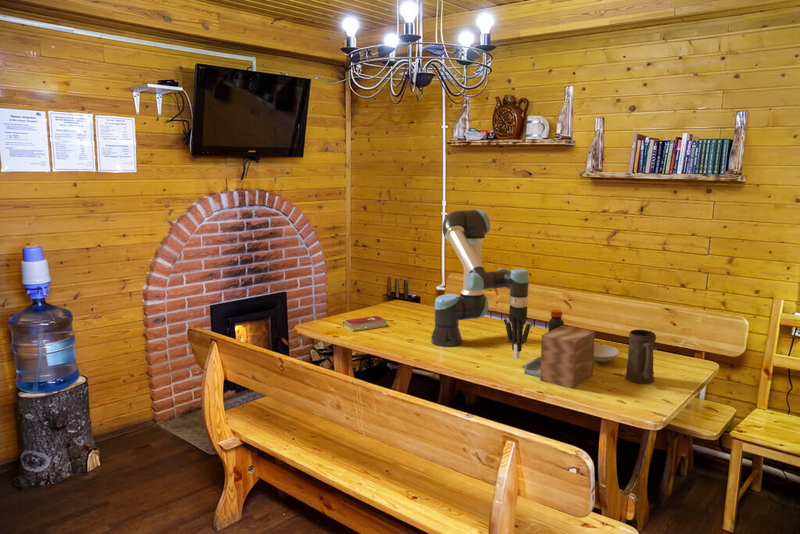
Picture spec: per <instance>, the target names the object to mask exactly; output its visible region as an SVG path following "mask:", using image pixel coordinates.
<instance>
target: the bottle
mask: <svg viewBox="0 0 800 534" xmlns="http://www.w3.org/2000/svg"><path fill="white" fill-rule="evenodd" d="M550 312H551V313H550V317H551V318H550V319H549V320H548V331H547V333H548V332H550V331H552V330H554V329H556V328H558V327H560V326H562V325H564V326H565V322H564V320H563V319H562V317H563V311H562V310H561V309H552V310H551V311H550Z"/></svg>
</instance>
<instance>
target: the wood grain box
mask: <svg viewBox="0 0 800 534" xmlns="http://www.w3.org/2000/svg"><path fill="white" fill-rule="evenodd" d="M595 334H596V330H592V329H587V328H586V329H585V328H579V327H574V326H568V325H565V324H564V325H562V326H560V327H558V328H556V329H554V330H552V331H550V332H548V331H547V332H546V333H544V334H542V335H541V344H540V345H541V348H540V349H541V350H540V357H541V372H540V377H539V381H540V382H545V383H548V384H553V385H556V386H560V387H563V388H569V389H571V390H573V389H575V388H578V386H580V385H581V384H583V383H584V382H585V381H587V380H588V379H590V378H591V377H593V375H594V362H595V360H594V345H595V337H596V336H595Z"/></svg>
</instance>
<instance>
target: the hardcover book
mask: <svg viewBox="0 0 800 534" xmlns="http://www.w3.org/2000/svg"><path fill="white" fill-rule="evenodd" d="M387 321H388V320H387V319H386V318H384V317H381V316H380V315H373V316H366V317H365V316H364V317H359V318H352V319H345V320H342V326H343V327H344V328H346V330H347V329H348V331H350V332H357V331H358V332H359V331H365V330H371V329H377V328H378V329H379V328H384V327H387ZM343 324H345V325H346V326H345V325H343ZM347 326H348V327H349V328H348V327H347ZM365 327H367V328H365ZM350 328H351V329H350ZM357 328H360V329H357ZM352 329H353V330H352Z"/></svg>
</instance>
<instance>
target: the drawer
mask: <svg viewBox="0 0 800 534" xmlns="http://www.w3.org/2000/svg"><path fill="white" fill-rule="evenodd" d="M540 372H541V356H538V357H536V358H534V359H533V360H531V361H528V362H527V363H525V364H524V373H523V374H525V375H529V376H533V377H536V378H540Z"/></svg>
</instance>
